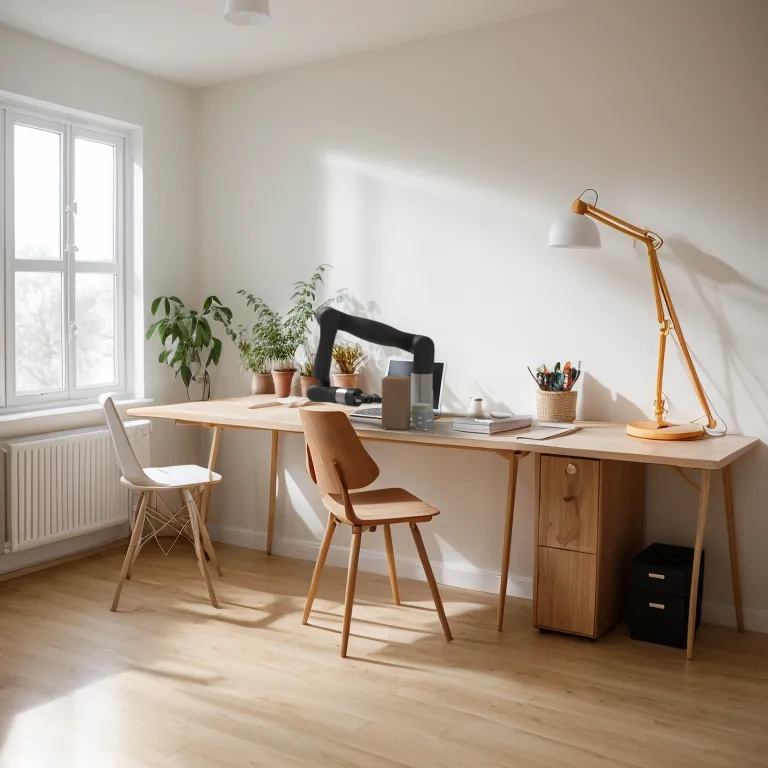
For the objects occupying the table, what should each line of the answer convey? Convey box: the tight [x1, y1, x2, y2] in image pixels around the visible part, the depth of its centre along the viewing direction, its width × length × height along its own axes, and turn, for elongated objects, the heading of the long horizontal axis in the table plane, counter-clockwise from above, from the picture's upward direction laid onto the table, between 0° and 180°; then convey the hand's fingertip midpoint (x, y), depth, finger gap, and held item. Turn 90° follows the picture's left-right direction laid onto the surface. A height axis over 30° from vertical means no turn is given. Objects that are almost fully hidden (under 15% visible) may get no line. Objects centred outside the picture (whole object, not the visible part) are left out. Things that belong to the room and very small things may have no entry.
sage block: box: [411, 403, 432, 426], centre depth 338 cm, size 6×6×8 cm
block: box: [381, 374, 412, 431], centre depth 330 cm, size 10×10×20 cm
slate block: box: [415, 409, 435, 431], centre depth 329 cm, size 5×5×7 cm
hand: (384, 400), depth 334 cm, fingers closed
